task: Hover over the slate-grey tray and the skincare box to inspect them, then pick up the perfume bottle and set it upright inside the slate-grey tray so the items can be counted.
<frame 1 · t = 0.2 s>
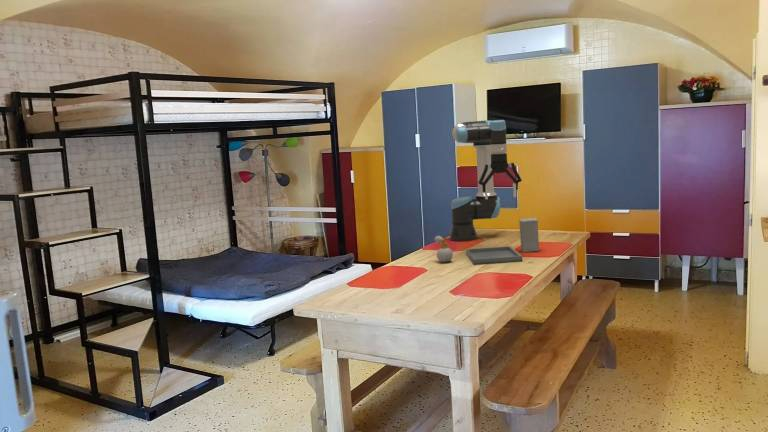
hand: (500, 198, 292), 28 cm above the table, fingers open, 13 cm apart
skincare box: (529, 251, 301), on the table
perfume bottle: (443, 262, 290), on the table
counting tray: (493, 257, 291), on the table
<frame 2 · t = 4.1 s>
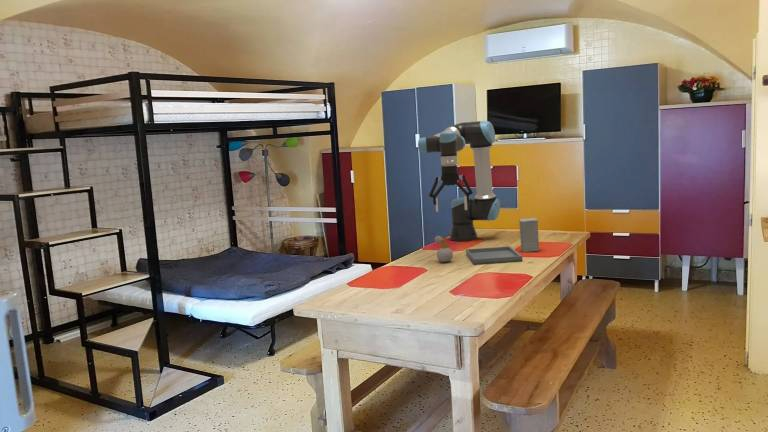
hand: (451, 210, 287), 24 cm above the table, fingers open, 13 cm apart
nothing on the table moved.
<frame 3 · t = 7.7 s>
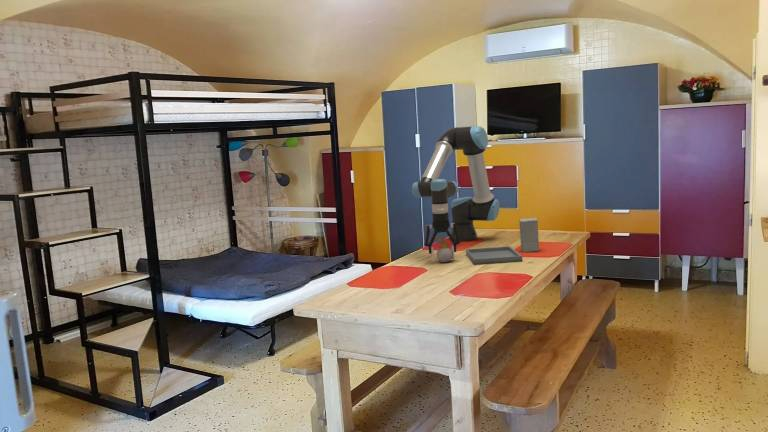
hand: (442, 259, 289), 1 cm above the table, fingers open, 9 cm apart
perfume bottle: (442, 262, 290), on the table, touching gripper
everything else where it was.
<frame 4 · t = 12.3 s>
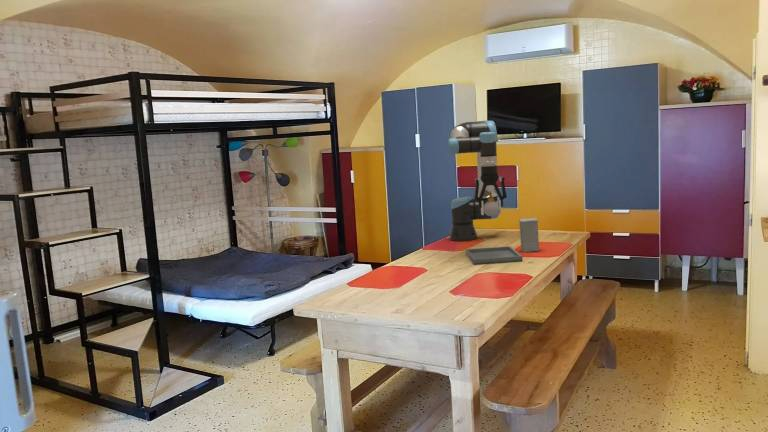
hand: (491, 214, 288), 21 cm above the table, fingers closed on perfume bottle, 7 cm apart
perfume bottle: (489, 216, 288), point 20 cm above the table, touching gripper
everything else where it was.
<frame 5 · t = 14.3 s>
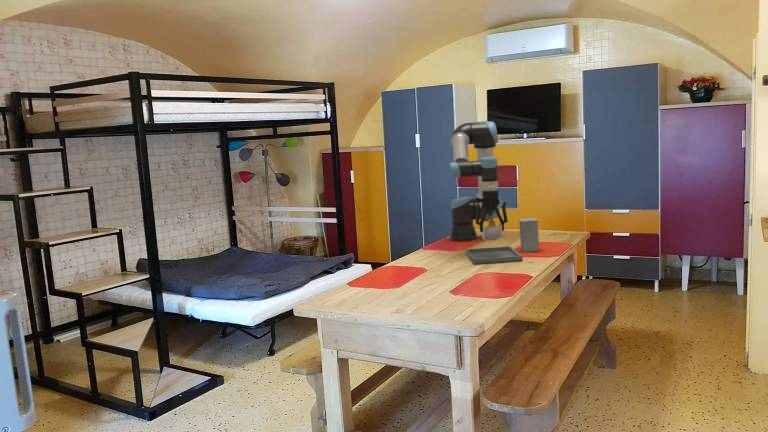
hand: (492, 238, 290), 9 cm above the table, fingers closed on perfume bottle, 7 cm apart
perfume bottle: (490, 240, 290), point 9 cm above the table, touching gripper
everything else where it was.
when the fingers open (3 cm above the table, at t = 16.3 s): perfume bottle drops 2 cm, resting on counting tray.
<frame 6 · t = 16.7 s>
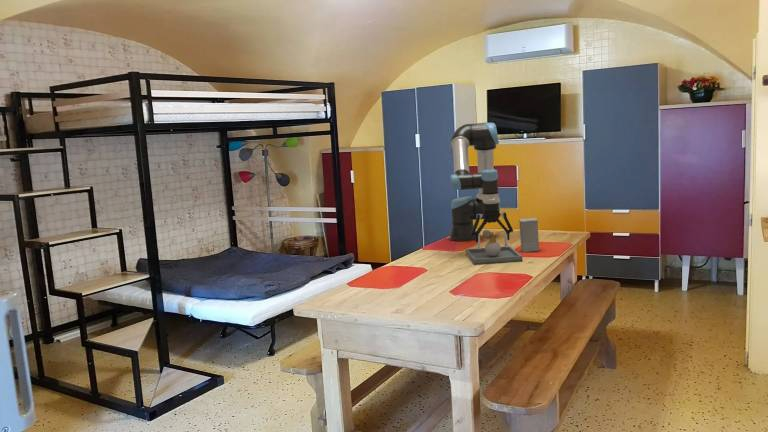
hand: (492, 247, 290), 5 cm above the table, fingers open, 12 cm apart
perfume bottle: (490, 256, 291), point 1 cm above the table, touching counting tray
everything else where it was.
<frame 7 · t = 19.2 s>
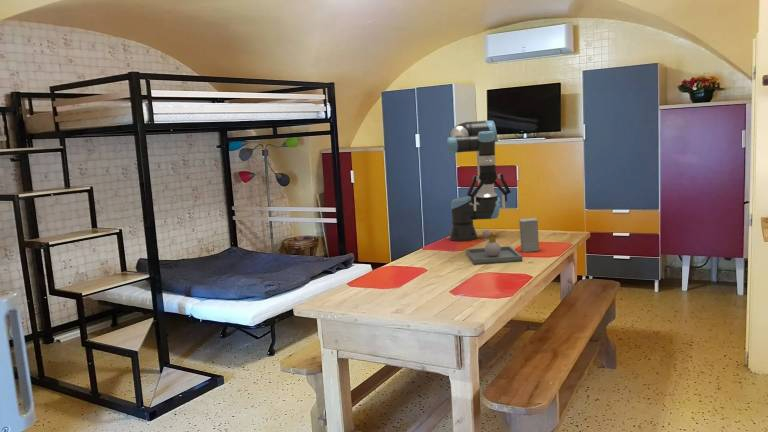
hand: (489, 209, 289), 23 cm above the table, fingers open, 13 cm apart
nothing on the table moved.
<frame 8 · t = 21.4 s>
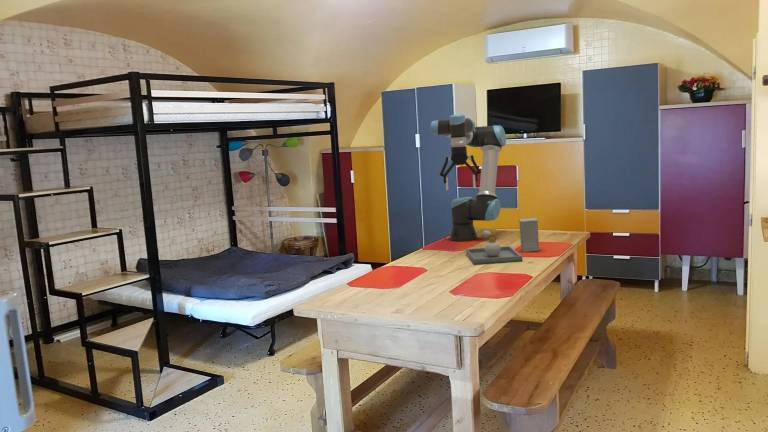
hand: (460, 189, 305), 32 cm above the table, fingers open, 13 cm apart
nothing on the table moved.
at the end: perfume bottle inside the target area on the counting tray (1.0 cm from its centre), point 0.6 cm above the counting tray's base; perfume bottle tilted 0°; the gripper is holding nothing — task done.
